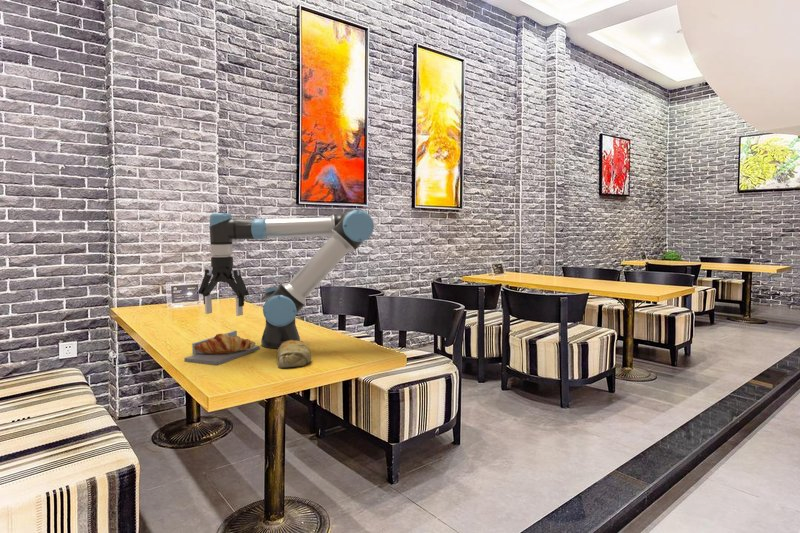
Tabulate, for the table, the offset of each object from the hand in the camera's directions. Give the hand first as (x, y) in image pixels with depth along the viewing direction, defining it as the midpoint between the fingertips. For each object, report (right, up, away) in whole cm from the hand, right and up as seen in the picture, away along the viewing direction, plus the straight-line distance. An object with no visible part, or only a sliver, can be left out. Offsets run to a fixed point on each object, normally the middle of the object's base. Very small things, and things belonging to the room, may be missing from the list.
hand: (224, 314), depth 180 cm
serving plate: (0, -15, +1) cm, 15 cm away
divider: (-8, -14, +13) cm, 21 cm away
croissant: (0, -14, +1) cm, 14 cm away
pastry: (+27, -16, -9) cm, 33 cm away
